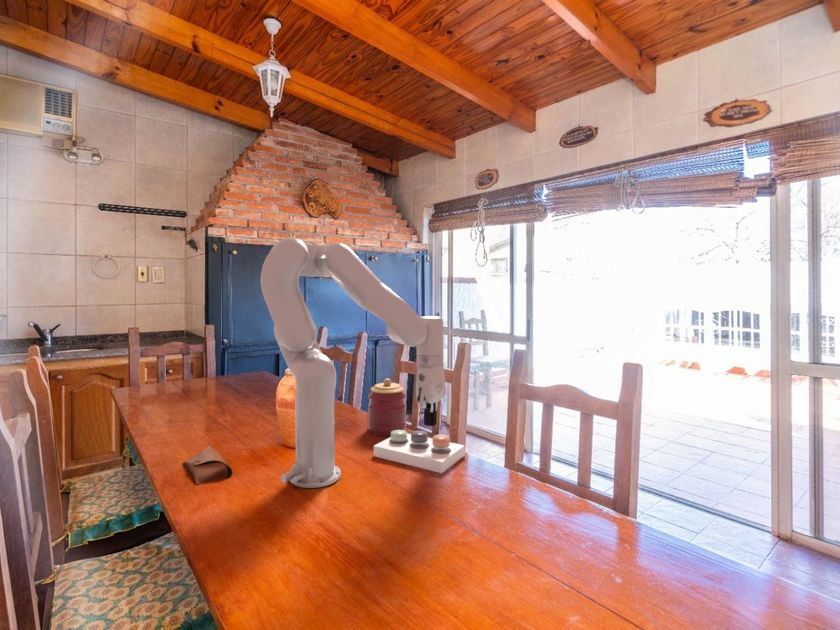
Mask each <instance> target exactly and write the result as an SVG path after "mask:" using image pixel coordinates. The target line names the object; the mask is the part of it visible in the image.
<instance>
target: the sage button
mask: <svg viewBox="0 0 840 630" xmlns="http://www.w3.org/2000/svg"><path fill="white" fill-rule="evenodd" d="M407 434H408V432H407V430H405V431H404V430H394V431H392V432H391V435H390V437H391V441H394V442H404V441H406V440H407Z"/></svg>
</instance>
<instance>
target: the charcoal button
mask: <svg viewBox="0 0 840 630" xmlns="http://www.w3.org/2000/svg"><path fill="white" fill-rule="evenodd" d="M410 434H411V441H412V442H414V443H425V442H427V441H428V438H429V433H428V432H427V431H425V430H414V431H411V433H410Z"/></svg>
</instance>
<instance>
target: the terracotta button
mask: <svg viewBox="0 0 840 630" xmlns="http://www.w3.org/2000/svg"><path fill="white" fill-rule="evenodd" d="M431 439H432V445H433V446H434V447H437V448H446V447H449V446H450V443H451V439H450V436H448V435H445V434H435V435H434V436H432V437H431Z"/></svg>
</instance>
